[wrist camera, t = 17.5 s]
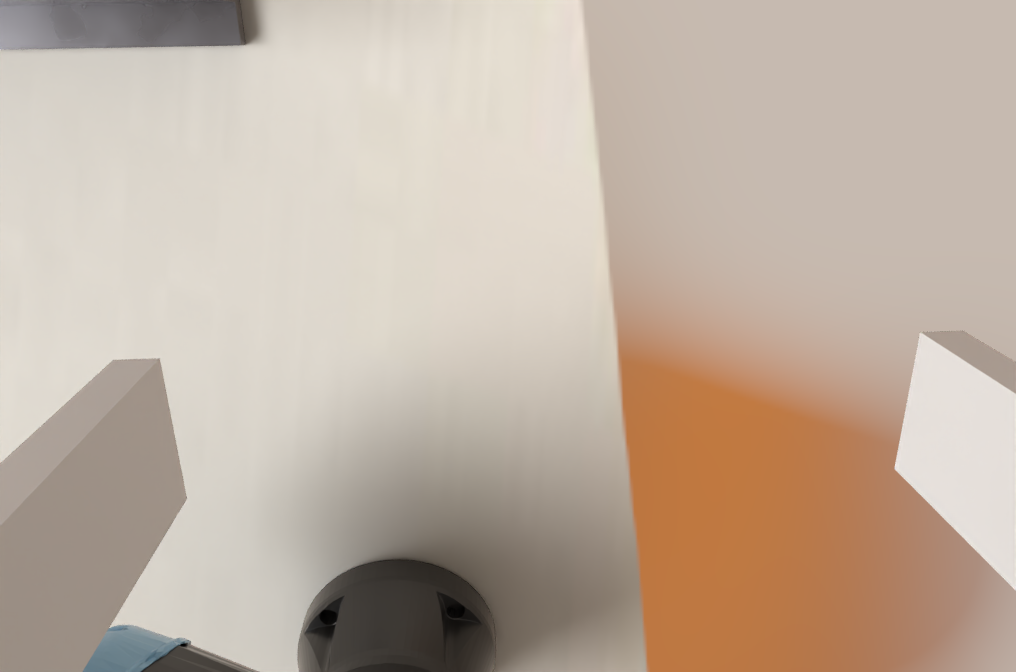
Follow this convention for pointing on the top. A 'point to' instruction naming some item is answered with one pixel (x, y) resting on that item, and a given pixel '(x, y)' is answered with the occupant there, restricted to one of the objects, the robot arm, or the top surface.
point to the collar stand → (119, 23)
